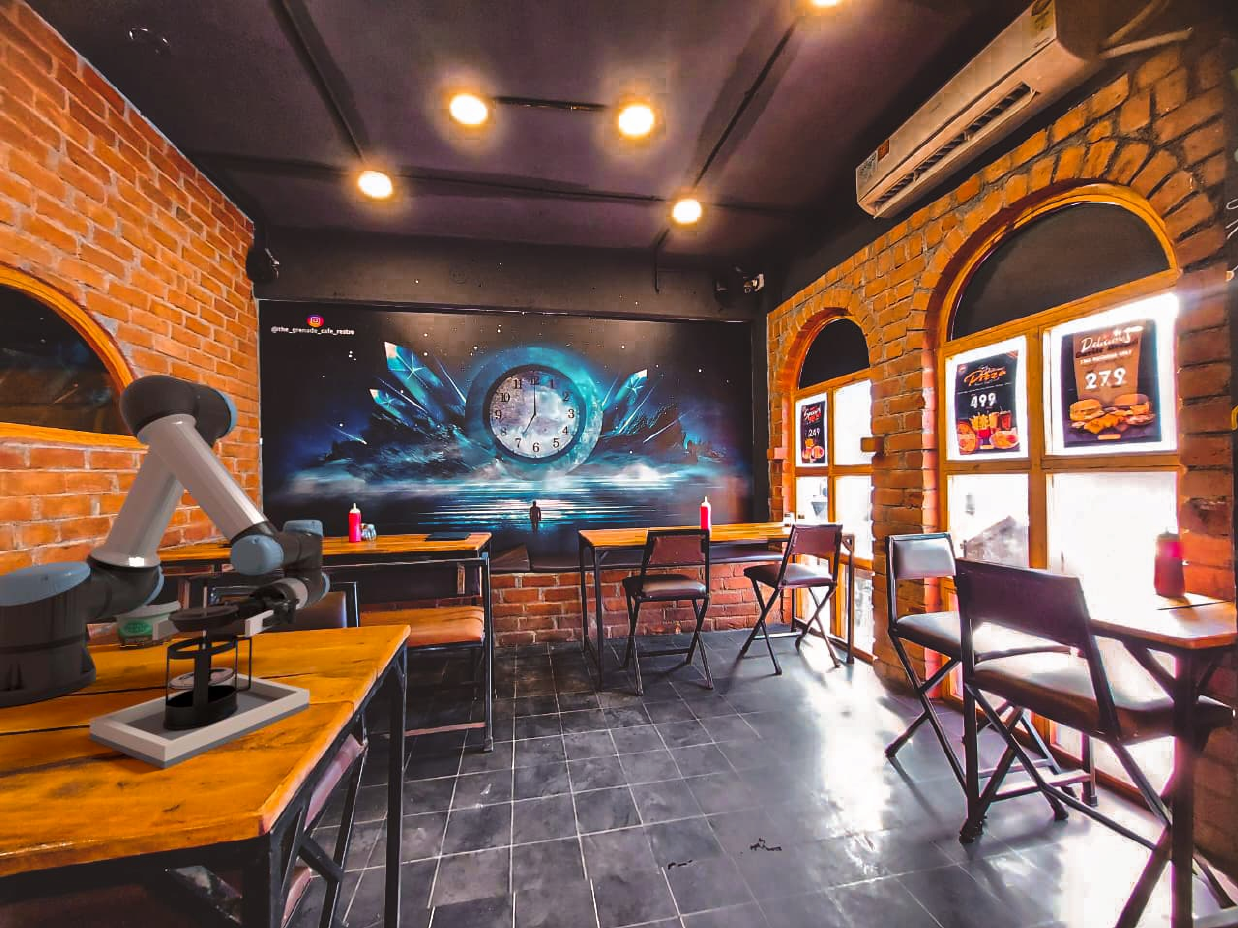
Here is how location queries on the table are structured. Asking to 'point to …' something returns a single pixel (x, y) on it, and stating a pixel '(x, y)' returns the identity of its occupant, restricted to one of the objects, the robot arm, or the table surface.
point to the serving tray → (164, 748)
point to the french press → (203, 667)
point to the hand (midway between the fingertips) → (201, 629)
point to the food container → (143, 626)
